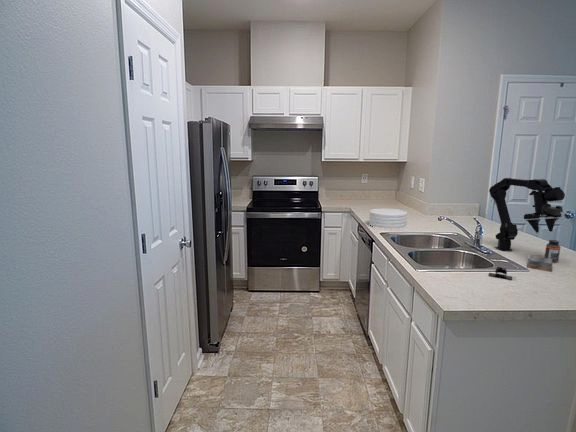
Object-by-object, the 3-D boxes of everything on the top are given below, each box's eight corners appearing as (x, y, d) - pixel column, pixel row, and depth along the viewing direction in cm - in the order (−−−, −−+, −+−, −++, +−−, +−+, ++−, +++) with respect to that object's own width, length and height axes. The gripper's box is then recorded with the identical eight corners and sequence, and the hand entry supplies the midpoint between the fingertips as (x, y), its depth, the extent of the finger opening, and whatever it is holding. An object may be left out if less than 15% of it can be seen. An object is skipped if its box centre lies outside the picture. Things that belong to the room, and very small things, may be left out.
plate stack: (376, 230, 244) (376, 215, 242) (364, 222, 272) (365, 208, 269) (412, 229, 246) (413, 214, 244) (397, 221, 274) (398, 208, 271)
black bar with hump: (484, 277, 156) (485, 268, 155) (485, 272, 162) (486, 263, 161) (516, 282, 150) (517, 273, 149) (515, 277, 156) (517, 268, 155)
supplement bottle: (543, 258, 181) (546, 238, 179) (556, 260, 178) (560, 240, 176) (544, 261, 176) (548, 241, 174) (558, 263, 173) (562, 242, 171)
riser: (526, 267, 167) (527, 259, 167) (528, 262, 175) (529, 255, 174) (551, 272, 161) (552, 264, 160) (552, 266, 169) (553, 259, 168)
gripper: (542, 201, 164) (545, 232, 163) (570, 200, 169) (574, 230, 168) (521, 203, 175) (524, 233, 174) (548, 202, 180) (551, 231, 179)
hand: (544, 232), depth 173 cm, fingers open, 9 cm apart
